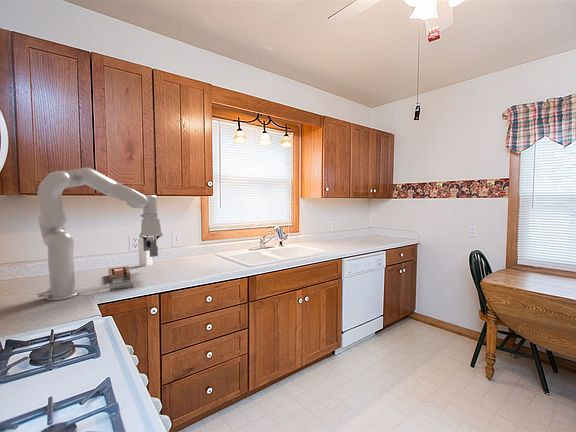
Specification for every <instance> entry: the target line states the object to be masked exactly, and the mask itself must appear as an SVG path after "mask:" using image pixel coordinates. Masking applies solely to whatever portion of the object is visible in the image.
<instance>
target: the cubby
mask: <svg viewBox="0 0 576 432" xmlns="http://www.w3.org/2000/svg"><path fill="white" fill-rule="evenodd" d="M121 268H123V271H124V277H123V278H116V279H115V275H114V269H121ZM107 269H108V280H109V288H110V289H109V290H110V292H113V290H114V291H118V290H119V289H120V290H126V289H131V288H134V287H133V282H132V281H131V271H130V269H129V266H119V267H112V268H107ZM125 288H126V289H125Z"/></svg>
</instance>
